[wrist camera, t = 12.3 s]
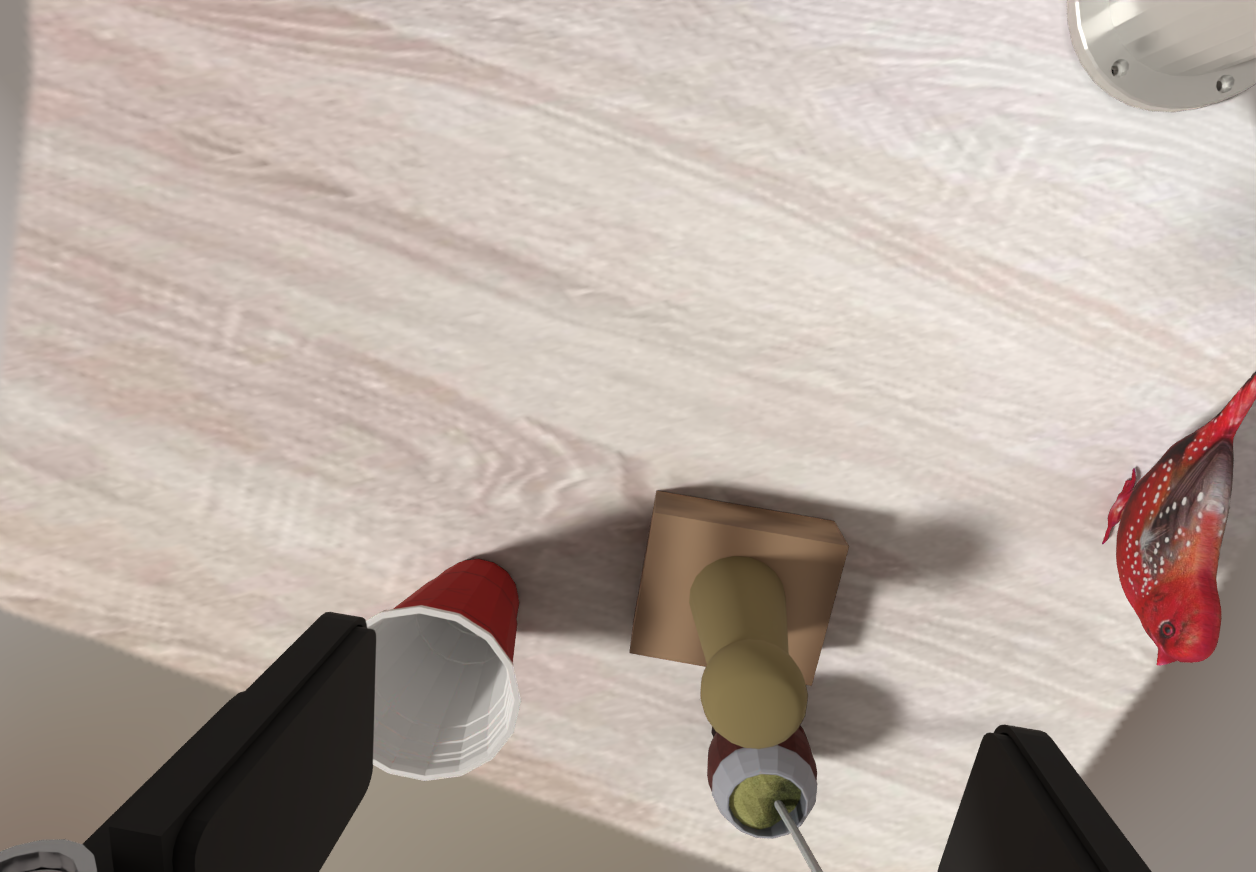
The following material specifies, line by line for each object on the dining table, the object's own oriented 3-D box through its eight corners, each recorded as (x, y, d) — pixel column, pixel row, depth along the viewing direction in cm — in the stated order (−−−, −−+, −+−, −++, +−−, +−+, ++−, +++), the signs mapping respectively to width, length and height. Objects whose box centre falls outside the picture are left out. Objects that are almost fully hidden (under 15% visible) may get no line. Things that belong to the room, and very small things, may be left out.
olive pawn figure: (764, 542, 40) (795, 643, 30) (799, 623, 41) (841, 748, 31) (673, 575, 41) (672, 685, 31) (710, 654, 42) (721, 785, 32)
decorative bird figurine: (1053, 591, 44) (1160, 685, 34) (1164, 330, 39) (1324, 354, 29) (1096, 600, 44) (1214, 696, 34) (1212, 340, 39) (1388, 367, 29)
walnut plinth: (834, 520, 44) (849, 546, 40) (800, 650, 46) (811, 685, 43) (656, 490, 44) (654, 512, 40) (633, 620, 47) (629, 652, 43)
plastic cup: (579, 637, 47) (547, 758, 36) (446, 675, 49) (374, 803, 38) (522, 504, 45) (469, 588, 34) (384, 549, 47) (288, 644, 35)
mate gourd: (690, 693, 48) (696, 880, 34) (794, 661, 47) (846, 841, 32) (726, 774, 50) (746, 985, 35) (827, 745, 48) (891, 952, 34)
